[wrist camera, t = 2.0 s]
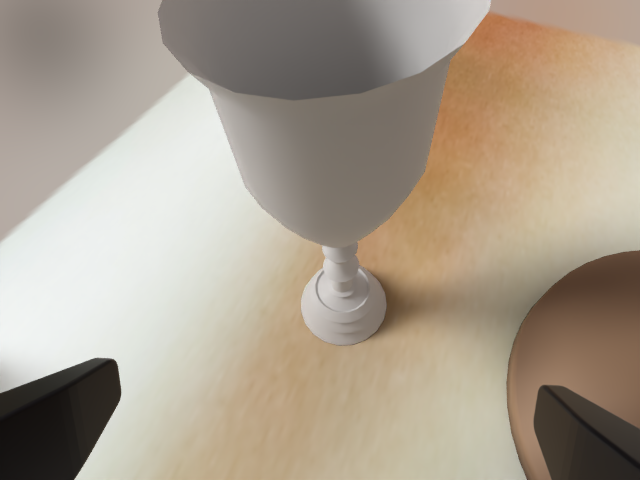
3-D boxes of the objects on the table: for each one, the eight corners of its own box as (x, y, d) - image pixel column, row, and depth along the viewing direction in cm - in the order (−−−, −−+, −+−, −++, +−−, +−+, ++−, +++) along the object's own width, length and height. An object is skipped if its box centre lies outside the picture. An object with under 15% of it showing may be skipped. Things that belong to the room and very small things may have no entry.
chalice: (374, 386, 21) (427, 147, 6) (263, 335, 23) (83, 50, 8) (419, 272, 25) (529, -80, 9) (318, 234, 26) (267, -110, 11)
